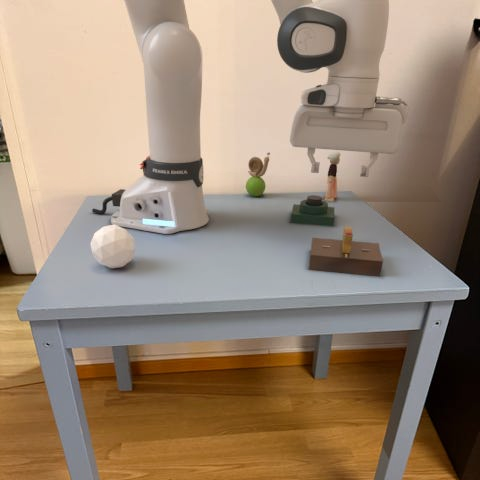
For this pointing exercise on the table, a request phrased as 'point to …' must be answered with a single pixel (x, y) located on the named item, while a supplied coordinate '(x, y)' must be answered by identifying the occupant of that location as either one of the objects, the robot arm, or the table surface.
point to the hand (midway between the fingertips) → (339, 174)
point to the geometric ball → (113, 246)
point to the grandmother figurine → (332, 176)
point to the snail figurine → (256, 176)
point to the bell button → (314, 200)
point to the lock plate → (345, 257)
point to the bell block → (313, 214)
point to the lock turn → (347, 240)
